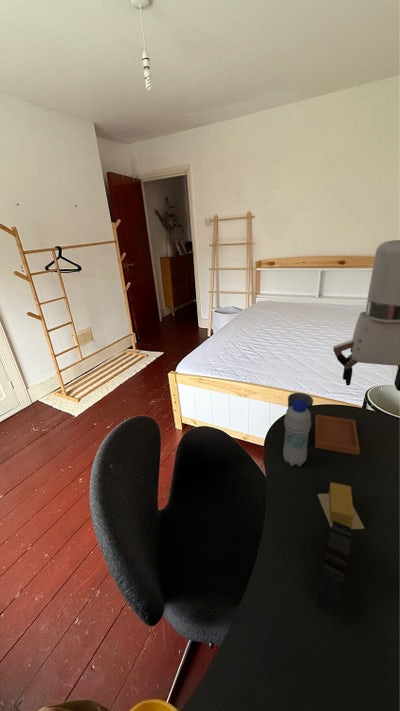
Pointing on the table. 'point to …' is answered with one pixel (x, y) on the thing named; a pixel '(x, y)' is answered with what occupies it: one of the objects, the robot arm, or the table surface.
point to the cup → (303, 397)
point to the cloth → (325, 504)
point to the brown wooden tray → (336, 434)
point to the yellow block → (340, 504)
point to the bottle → (296, 433)
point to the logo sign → (334, 569)
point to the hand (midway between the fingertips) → (371, 384)
